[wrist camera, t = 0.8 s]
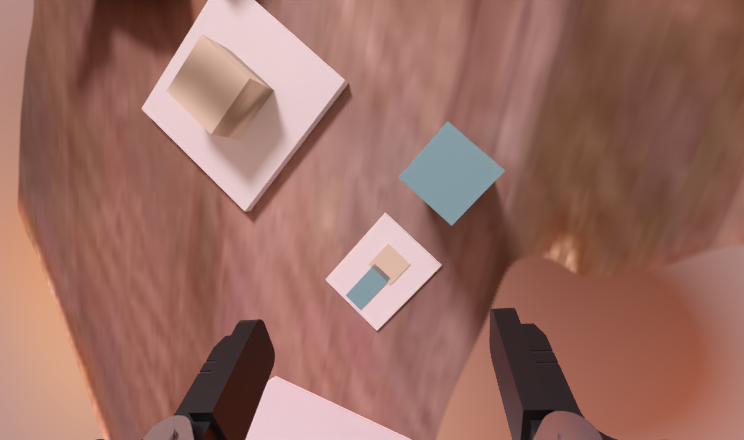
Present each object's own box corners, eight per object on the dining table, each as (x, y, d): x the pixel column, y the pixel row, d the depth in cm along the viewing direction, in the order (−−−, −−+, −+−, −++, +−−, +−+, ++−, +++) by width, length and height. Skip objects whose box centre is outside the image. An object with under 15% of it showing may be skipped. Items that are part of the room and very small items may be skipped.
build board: (231, -21, 35) (224, -27, 34) (348, 83, 33) (345, 80, 32) (149, 110, 39) (141, 108, 38) (250, 210, 37) (244, 211, 36)
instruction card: (385, 212, 34) (384, 212, 33) (441, 264, 33) (441, 265, 32) (326, 279, 36) (324, 280, 35) (377, 330, 35) (376, 331, 35)
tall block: (453, 140, 31) (447, 121, 22) (493, 175, 31) (504, 170, 21) (418, 179, 33) (398, 177, 23) (456, 213, 32) (451, 225, 22)
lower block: (231, 50, 35) (201, 34, 31) (274, 90, 34) (249, 78, 30) (198, 100, 36) (166, 90, 32) (238, 139, 36) (211, 134, 32)
